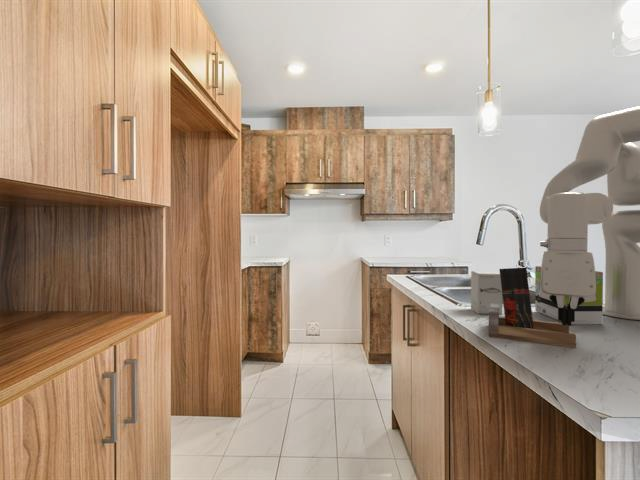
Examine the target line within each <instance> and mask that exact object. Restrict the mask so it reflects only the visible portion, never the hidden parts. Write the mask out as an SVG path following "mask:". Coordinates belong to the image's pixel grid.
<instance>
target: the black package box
mask: <svg viewBox="0 0 640 480" xmlns="http://www.w3.org/2000/svg"><path fill="white" fill-rule="evenodd" d="M498 269H499V273H500V278H501V287H502V306H503V313H504V317H505V323H506V326H513V327H521V328H530V329H534V326H533V320H534V319H533V313H532V312H533V311H532V303H531V302H532V301H531V295H530V287H529V278H528V272H527V271H528V270H527V267H512V268H511V267H510V268H508V267H507V268H498Z"/></svg>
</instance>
